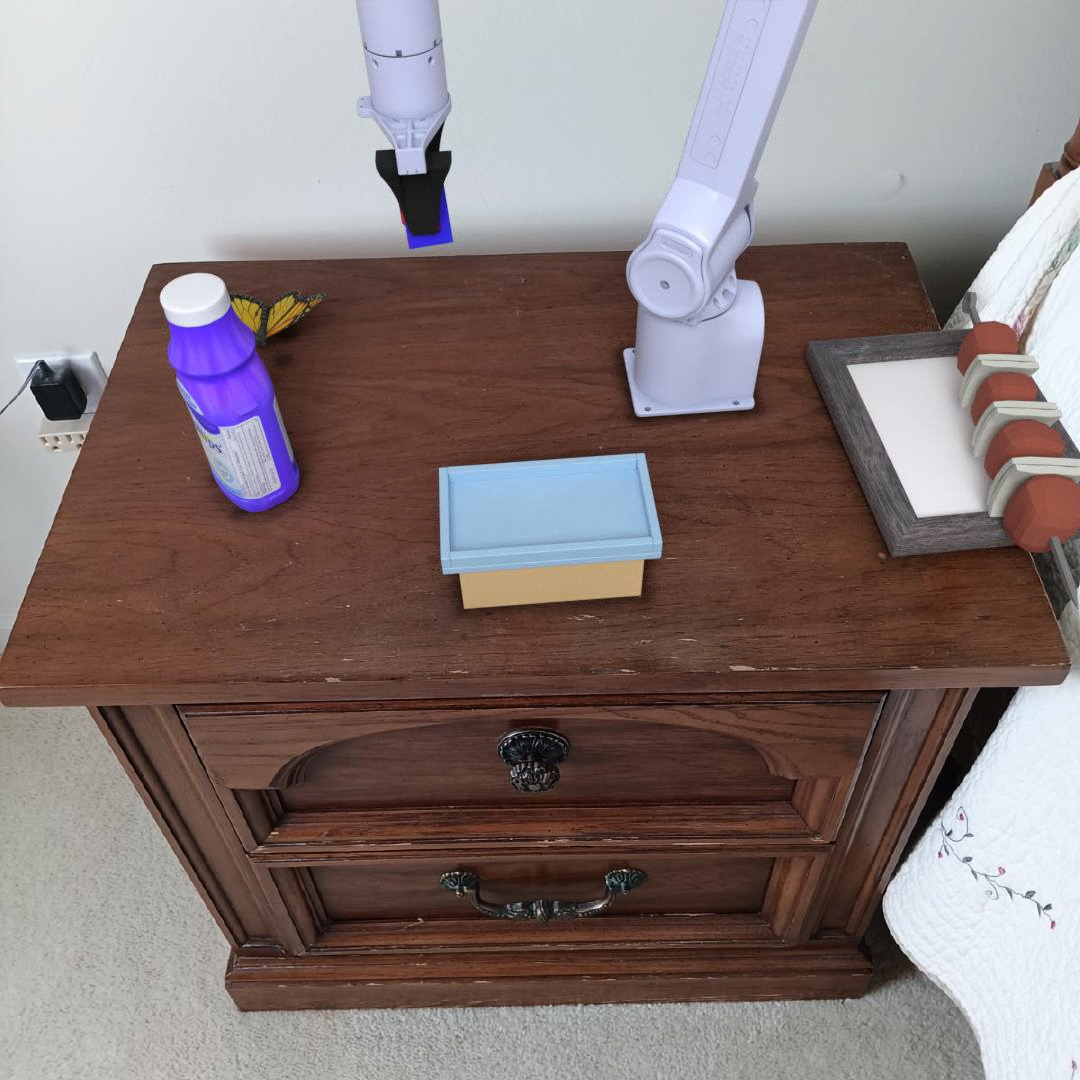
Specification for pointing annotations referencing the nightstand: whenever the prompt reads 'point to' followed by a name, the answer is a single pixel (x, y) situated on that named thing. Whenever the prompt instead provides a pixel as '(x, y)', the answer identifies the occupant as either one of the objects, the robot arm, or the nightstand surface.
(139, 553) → the nightstand surface
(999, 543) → the picture frame
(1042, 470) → the skewer
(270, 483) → the bottle
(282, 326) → the butterfly
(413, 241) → the toy building block
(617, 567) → the stand
